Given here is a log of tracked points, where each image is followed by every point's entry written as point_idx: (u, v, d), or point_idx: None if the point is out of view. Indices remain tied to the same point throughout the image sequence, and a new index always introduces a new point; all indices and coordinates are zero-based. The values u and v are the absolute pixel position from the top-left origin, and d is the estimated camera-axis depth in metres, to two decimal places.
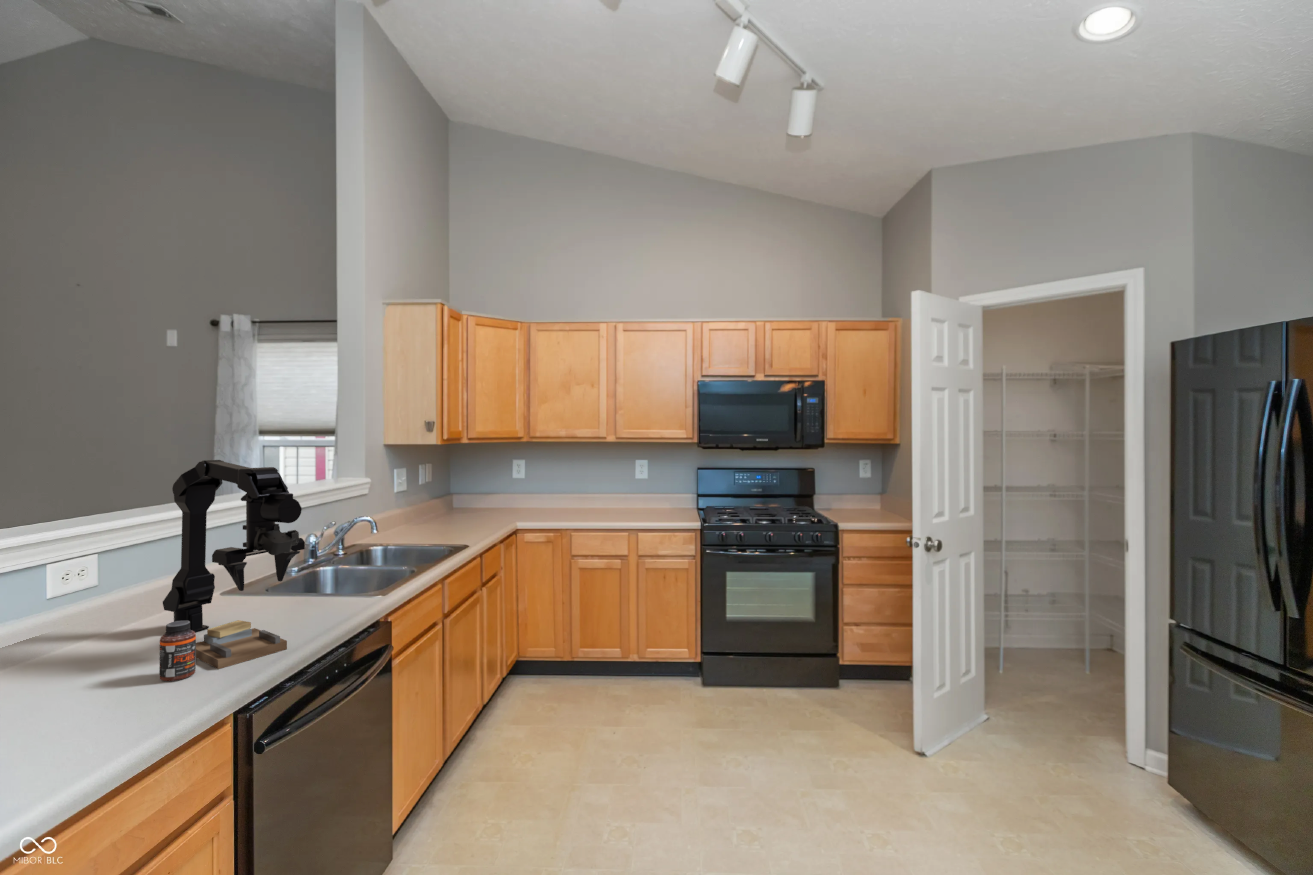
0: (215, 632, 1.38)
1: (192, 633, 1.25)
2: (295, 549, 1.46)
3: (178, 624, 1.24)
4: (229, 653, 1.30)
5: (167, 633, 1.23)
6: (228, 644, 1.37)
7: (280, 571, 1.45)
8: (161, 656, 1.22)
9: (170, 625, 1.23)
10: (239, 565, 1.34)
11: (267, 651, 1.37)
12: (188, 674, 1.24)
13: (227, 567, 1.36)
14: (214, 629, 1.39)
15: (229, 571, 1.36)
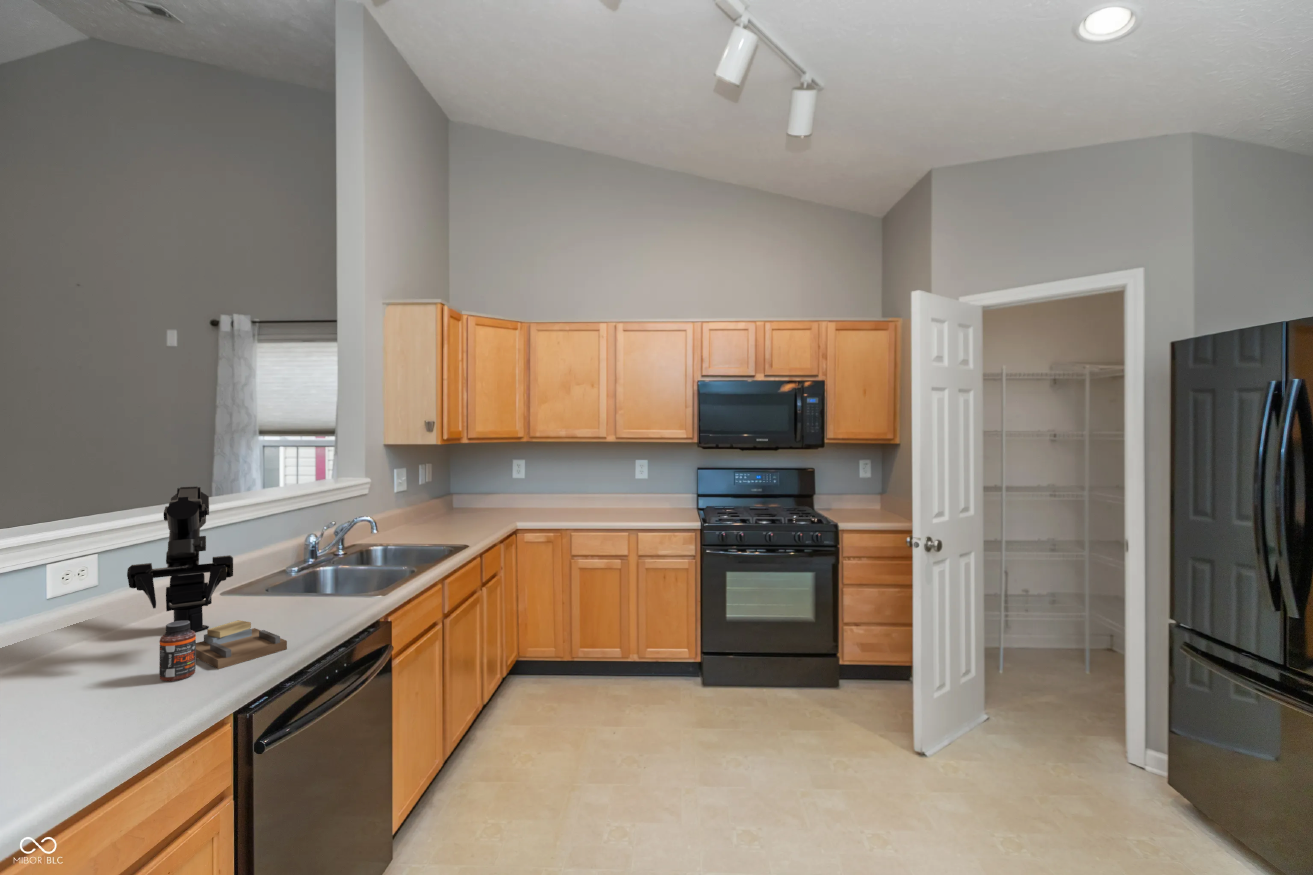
0: (215, 632, 1.38)
1: (192, 633, 1.25)
2: (217, 562, 1.37)
3: (178, 624, 1.24)
4: (229, 653, 1.30)
5: (167, 633, 1.23)
6: (228, 644, 1.37)
7: (207, 590, 1.35)
8: (161, 656, 1.22)
9: (170, 625, 1.23)
10: (142, 576, 1.29)
11: (267, 651, 1.37)
12: (188, 674, 1.24)
13: (145, 590, 1.31)
14: (214, 629, 1.39)
15: (146, 593, 1.31)
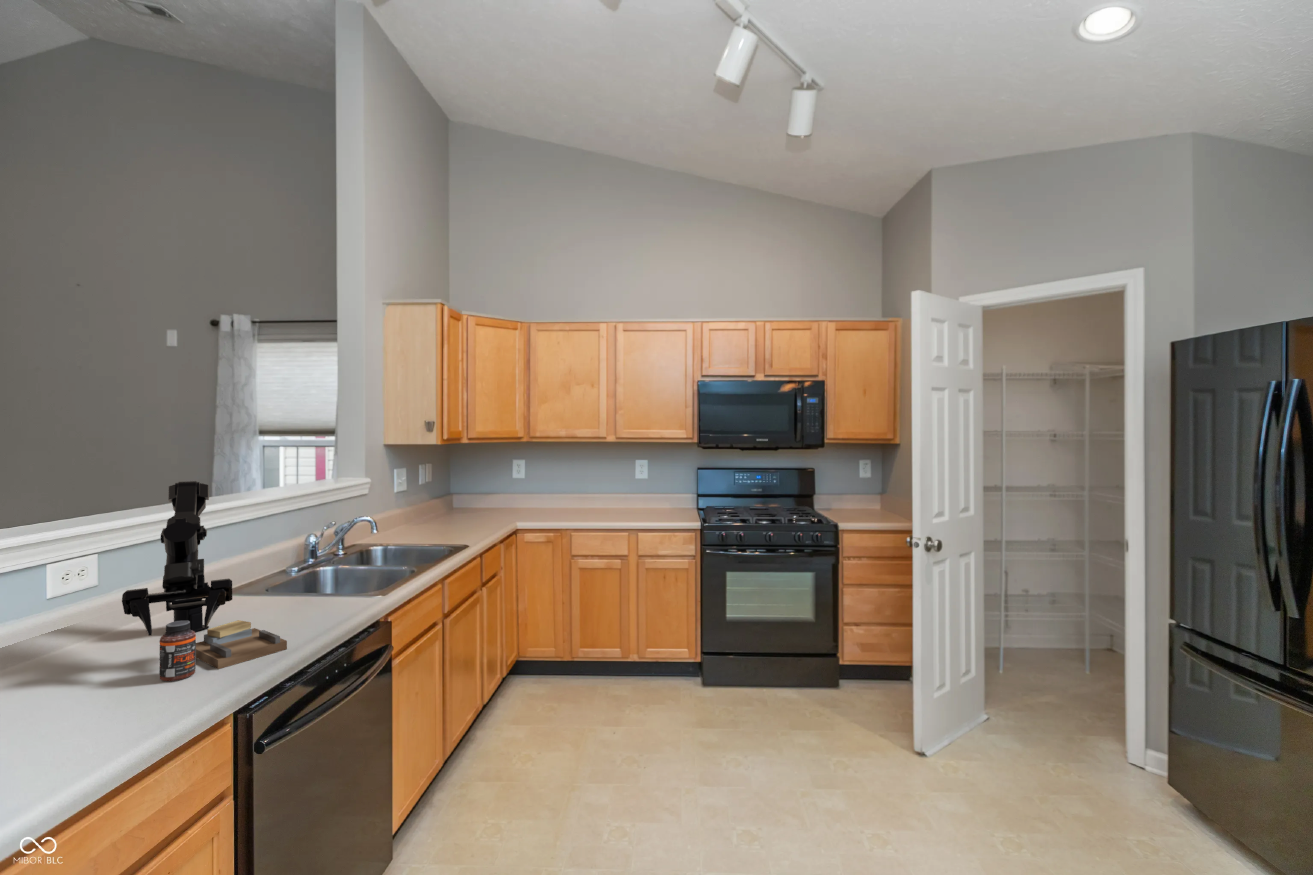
0: (215, 632, 1.38)
1: (192, 633, 1.25)
2: (216, 586, 1.32)
3: (178, 624, 1.24)
4: (229, 653, 1.30)
5: (167, 633, 1.23)
6: (228, 644, 1.37)
7: (205, 615, 1.30)
8: (161, 656, 1.22)
9: (170, 625, 1.23)
10: (138, 601, 1.24)
11: (267, 651, 1.37)
12: (188, 674, 1.24)
13: (141, 617, 1.26)
14: (214, 629, 1.39)
15: (142, 620, 1.26)
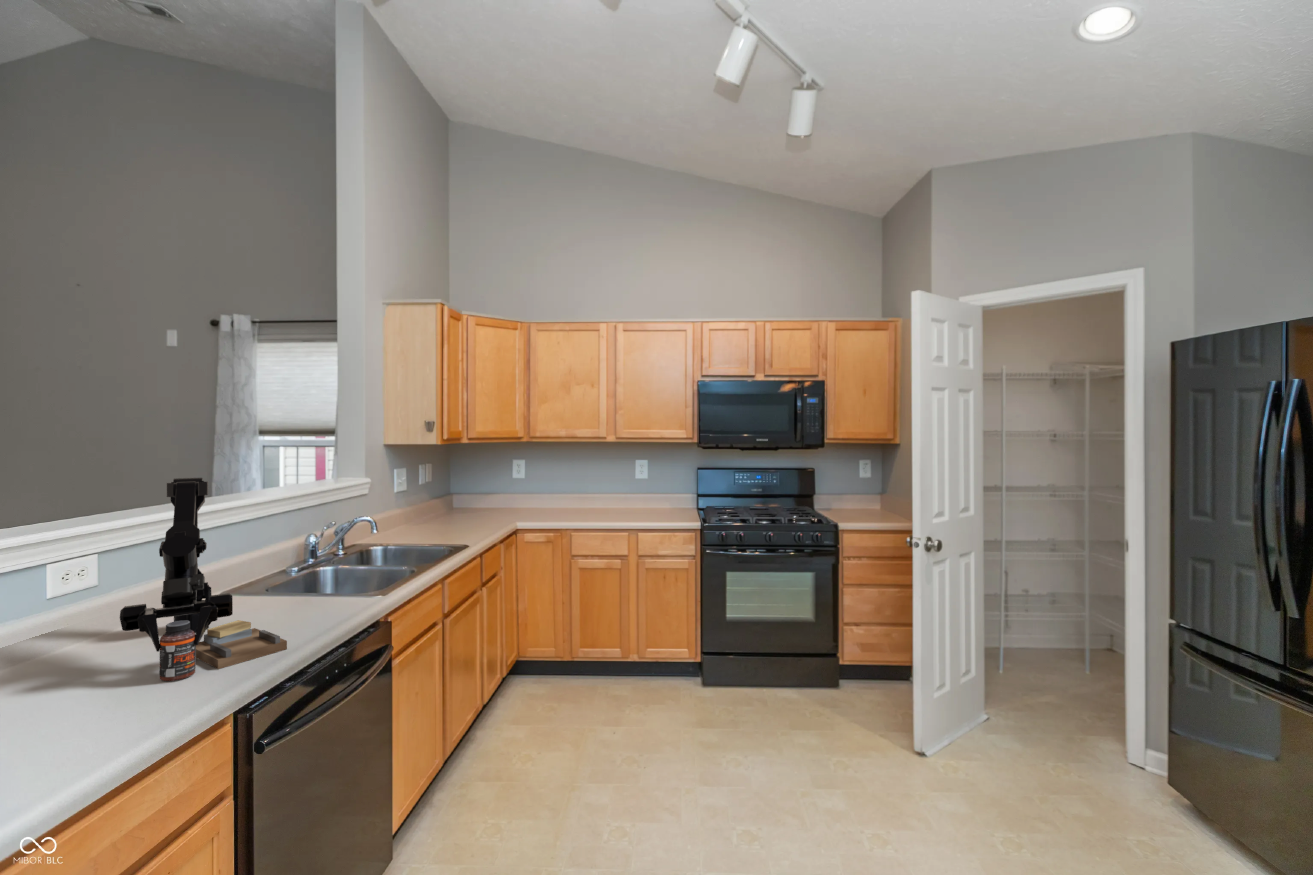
0: (215, 632, 1.38)
1: (192, 633, 1.25)
2: (216, 601, 1.30)
3: (178, 624, 1.24)
4: (229, 653, 1.30)
5: (167, 633, 1.23)
6: (228, 644, 1.37)
7: None
8: (161, 656, 1.22)
9: (170, 625, 1.23)
10: (145, 617, 1.22)
11: (267, 651, 1.37)
12: (188, 673, 1.24)
13: (148, 632, 1.25)
14: (214, 629, 1.39)
15: (150, 635, 1.24)
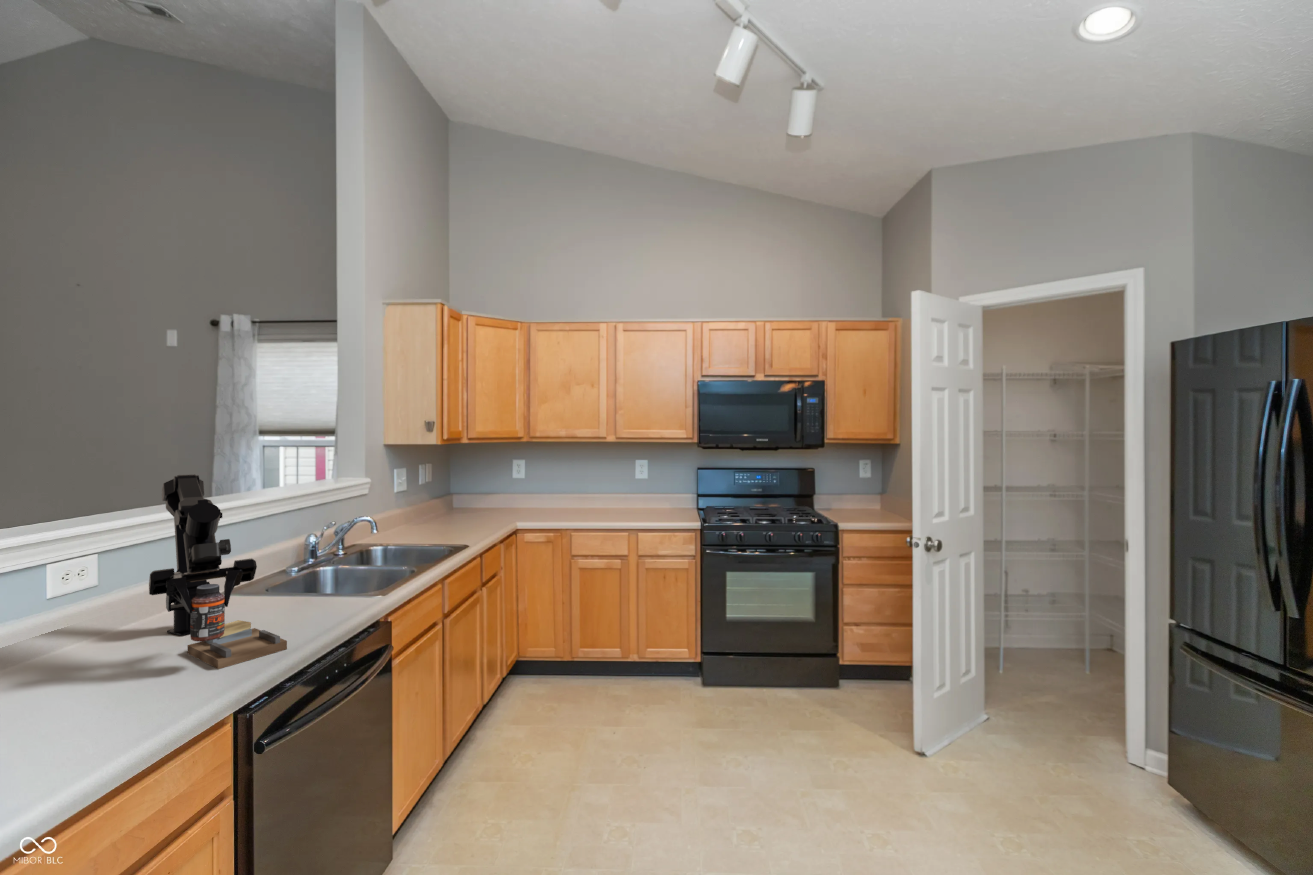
0: None
1: (222, 595, 1.30)
2: (241, 566, 1.35)
3: (209, 587, 1.28)
4: (229, 653, 1.30)
5: (199, 595, 1.27)
6: (228, 644, 1.37)
7: (225, 595, 1.31)
8: (193, 617, 1.26)
9: (201, 588, 1.27)
10: (176, 580, 1.26)
11: (267, 651, 1.37)
12: (219, 634, 1.29)
13: (176, 595, 1.28)
14: None
15: (178, 598, 1.28)
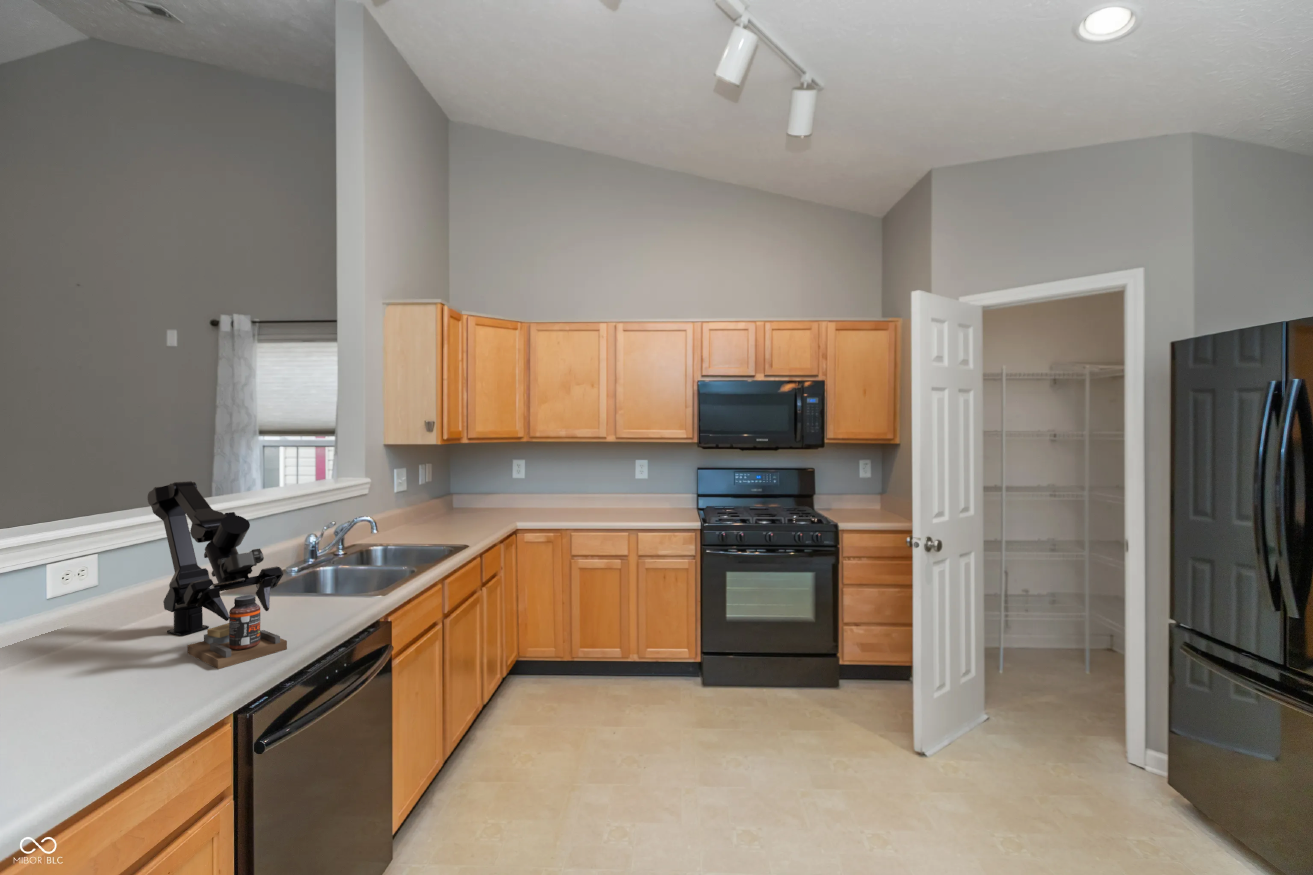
0: (215, 632, 1.38)
1: (258, 605, 1.38)
2: (271, 573, 1.43)
3: (247, 597, 1.36)
4: (229, 653, 1.30)
5: (238, 606, 1.35)
6: (228, 644, 1.37)
7: (263, 601, 1.40)
8: (235, 627, 1.34)
9: (241, 598, 1.35)
10: (211, 590, 1.32)
11: (267, 651, 1.37)
12: (258, 641, 1.37)
13: (207, 606, 1.33)
14: (214, 629, 1.39)
15: (210, 608, 1.33)
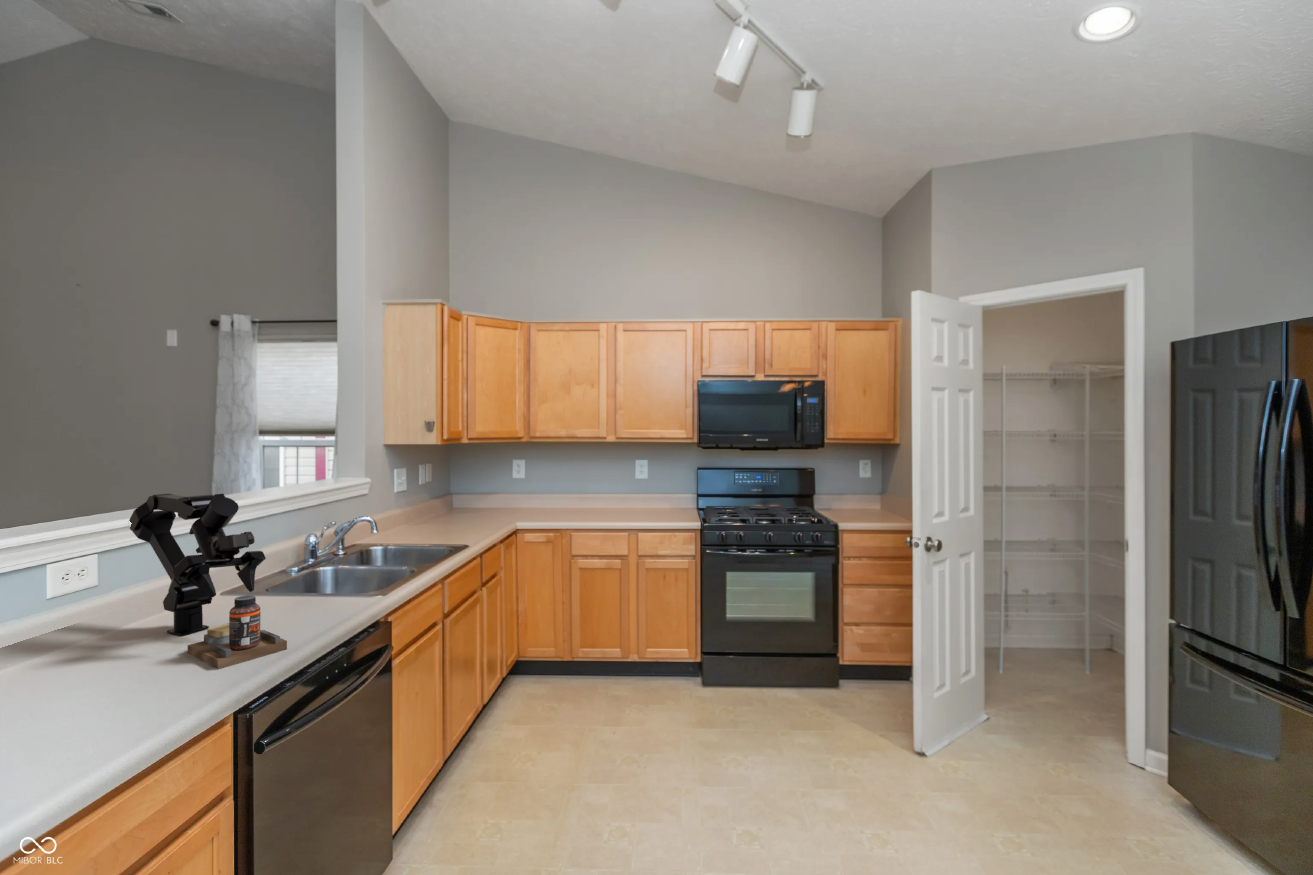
0: (215, 632, 1.38)
1: (258, 605, 1.38)
2: (255, 557, 1.50)
3: (247, 597, 1.36)
4: (229, 653, 1.30)
5: (238, 606, 1.34)
6: (228, 644, 1.37)
7: (248, 582, 1.47)
8: (235, 627, 1.34)
9: (241, 599, 1.35)
10: (202, 566, 1.37)
11: (267, 651, 1.37)
12: (258, 641, 1.37)
13: (192, 580, 1.38)
14: (214, 629, 1.39)
15: (196, 583, 1.38)
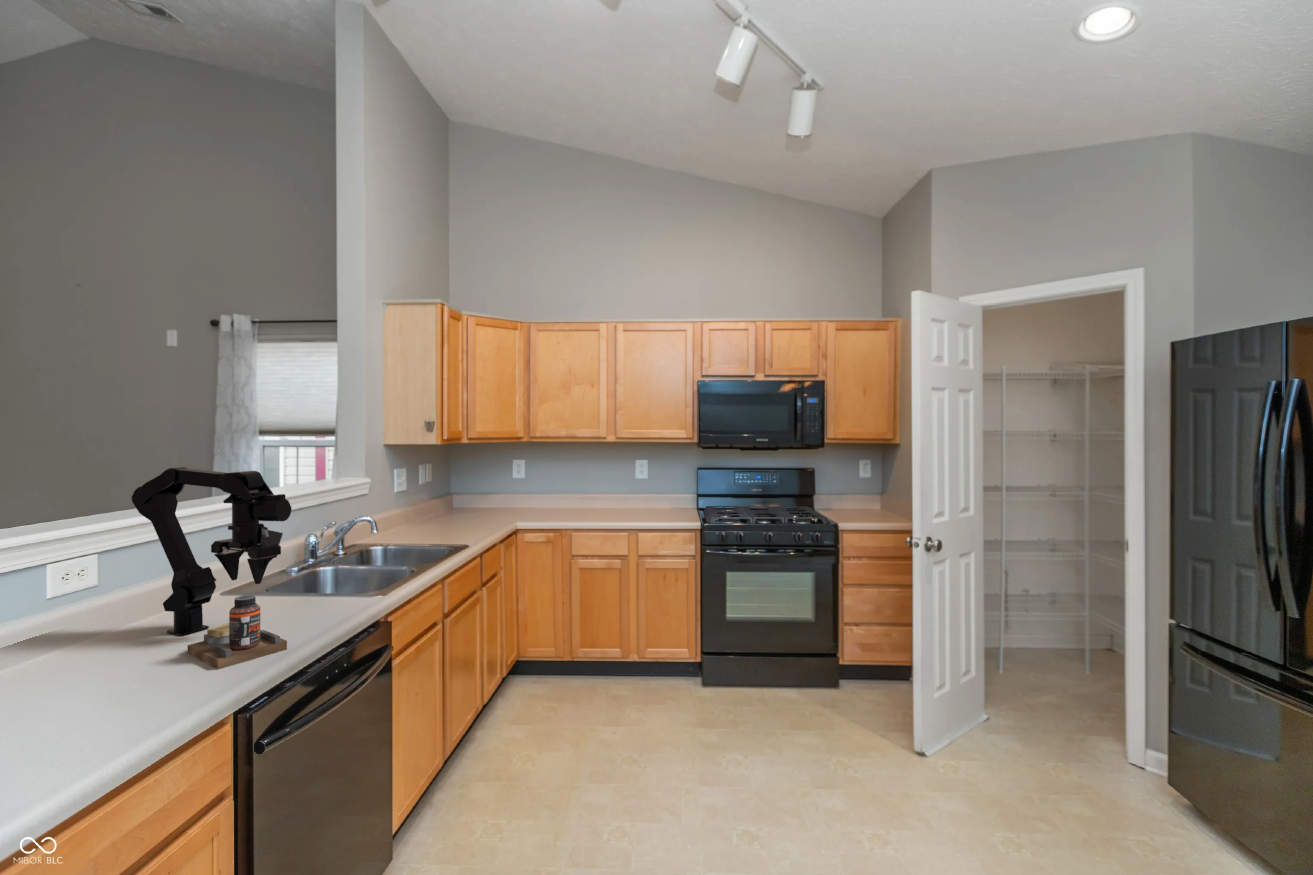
0: (215, 632, 1.38)
1: (258, 605, 1.38)
2: None
3: (247, 597, 1.36)
4: (229, 653, 1.30)
5: (238, 606, 1.34)
6: (228, 644, 1.37)
7: (235, 570, 1.53)
8: (235, 627, 1.34)
9: (241, 599, 1.35)
10: None
11: (267, 651, 1.37)
12: (258, 641, 1.37)
13: (255, 563, 1.47)
14: (214, 629, 1.39)
15: (255, 567, 1.47)
